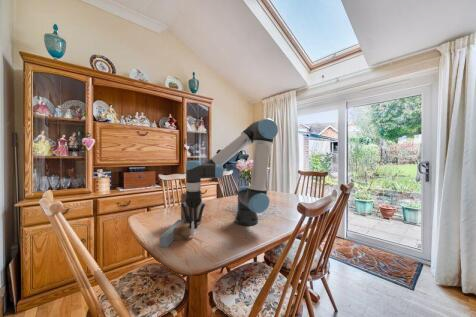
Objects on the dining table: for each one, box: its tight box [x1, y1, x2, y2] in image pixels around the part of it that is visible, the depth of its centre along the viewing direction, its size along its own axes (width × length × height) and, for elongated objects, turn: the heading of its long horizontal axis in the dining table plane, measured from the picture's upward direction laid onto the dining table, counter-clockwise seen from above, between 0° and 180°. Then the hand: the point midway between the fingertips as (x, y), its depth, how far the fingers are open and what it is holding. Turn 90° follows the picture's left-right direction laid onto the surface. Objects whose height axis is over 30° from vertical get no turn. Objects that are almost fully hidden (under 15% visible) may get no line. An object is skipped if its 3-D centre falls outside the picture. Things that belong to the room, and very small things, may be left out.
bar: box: [159, 219, 184, 248], centre depth 106 cm, size 4×24×5 cm, turn 176°
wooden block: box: [180, 191, 203, 226], centre depth 125 cm, size 10×10×20 cm
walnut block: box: [173, 223, 192, 241], centre depth 106 cm, size 7×7×6 cm
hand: (193, 234), depth 106 cm, fingers closed
